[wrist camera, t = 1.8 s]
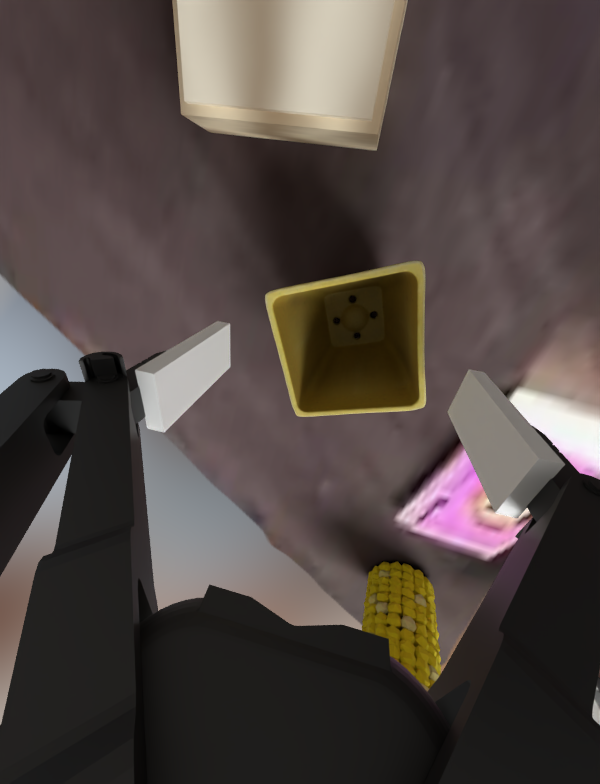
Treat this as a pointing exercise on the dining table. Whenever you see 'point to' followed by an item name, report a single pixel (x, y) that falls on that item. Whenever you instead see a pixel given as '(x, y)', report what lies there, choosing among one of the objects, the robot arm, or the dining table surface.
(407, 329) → the flower pot
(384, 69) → the cream square block
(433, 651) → the food
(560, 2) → the dining table surface
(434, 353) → the dining table surface
